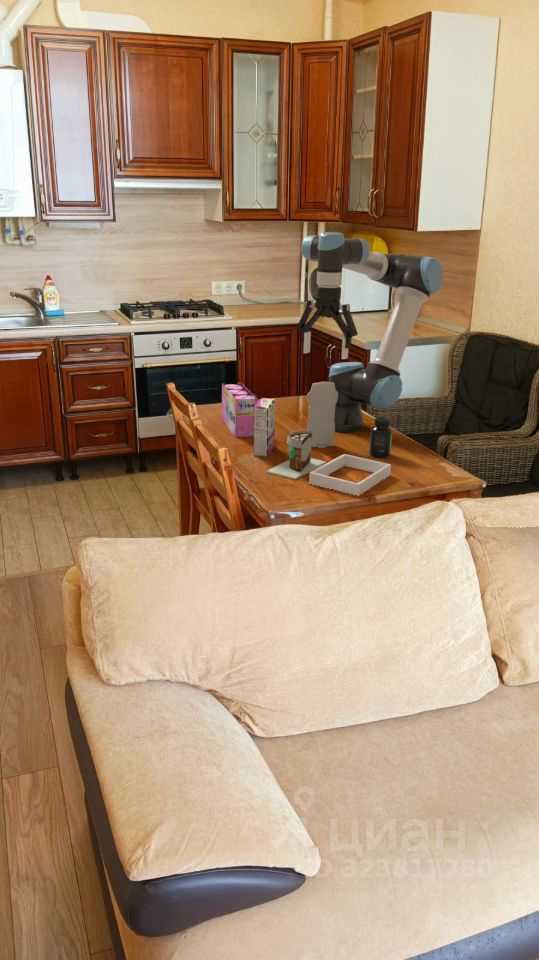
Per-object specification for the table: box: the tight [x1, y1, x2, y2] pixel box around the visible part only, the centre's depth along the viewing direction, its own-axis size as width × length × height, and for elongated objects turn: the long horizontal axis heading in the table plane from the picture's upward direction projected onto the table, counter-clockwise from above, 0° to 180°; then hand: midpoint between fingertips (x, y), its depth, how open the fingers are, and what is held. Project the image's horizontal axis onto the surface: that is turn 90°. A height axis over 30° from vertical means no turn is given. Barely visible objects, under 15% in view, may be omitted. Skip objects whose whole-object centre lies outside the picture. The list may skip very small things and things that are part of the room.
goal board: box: [266, 458, 326, 480], centre depth 239 cm, size 18×10×1 cm, turn 146°
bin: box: [308, 453, 392, 497], centre depth 230 cm, size 21×16×4 cm
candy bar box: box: [253, 397, 276, 458], centre depth 250 cm, size 11×5×16 cm, turn 168°
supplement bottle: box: [368, 417, 393, 459], centre depth 250 cm, size 7×7×12 cm
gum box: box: [221, 382, 259, 438], centre depth 275 cm, size 24×8×14 cm, turn 16°
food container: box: [286, 430, 313, 472], centre depth 237 cm, size 12×6×10 cm, turn 160°
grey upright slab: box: [306, 381, 338, 449], centre depth 255 cm, size 11×4×22 cm, turn 106°
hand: (325, 355), depth 243 cm, fingers open, 13 cm apart
